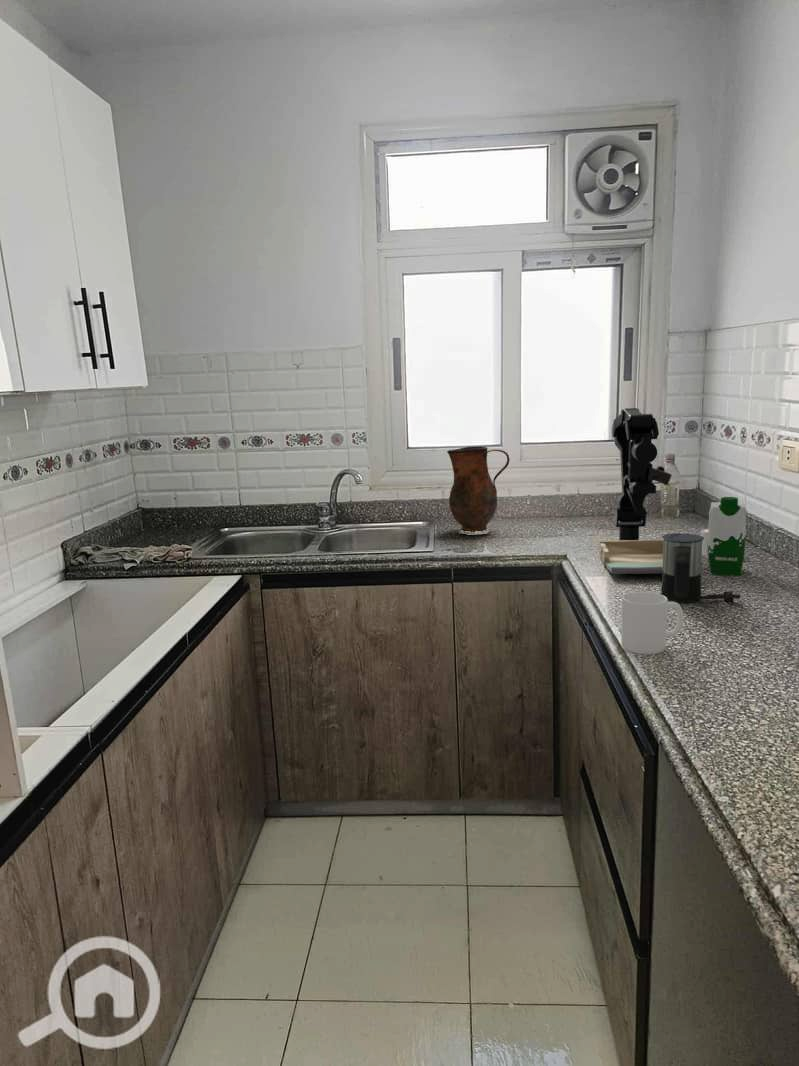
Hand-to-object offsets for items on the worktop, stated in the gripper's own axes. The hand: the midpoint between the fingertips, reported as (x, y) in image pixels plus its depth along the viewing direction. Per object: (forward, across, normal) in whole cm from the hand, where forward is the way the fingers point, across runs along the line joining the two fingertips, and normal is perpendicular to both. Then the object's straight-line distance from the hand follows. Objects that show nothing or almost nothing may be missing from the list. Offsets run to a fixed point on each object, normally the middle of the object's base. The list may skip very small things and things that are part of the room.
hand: (638, 513), depth 202 cm
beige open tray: (+13, -5, 0) cm, 14 cm away
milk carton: (+13, -15, -20) cm, 28 cm away
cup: (+13, -70, +8) cm, 72 cm away
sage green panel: (+11, -11, 0) cm, 16 cm away
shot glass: (+13, +4, -22) cm, 26 cm away
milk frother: (+13, -40, -7) cm, 43 cm away
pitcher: (+13, +37, +47) cm, 61 cm away
